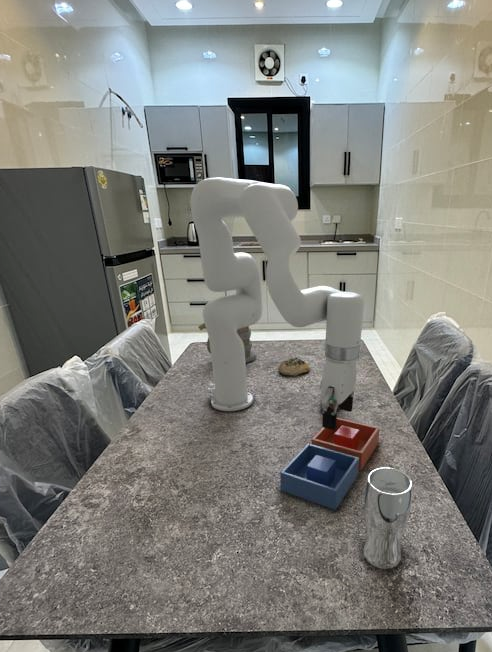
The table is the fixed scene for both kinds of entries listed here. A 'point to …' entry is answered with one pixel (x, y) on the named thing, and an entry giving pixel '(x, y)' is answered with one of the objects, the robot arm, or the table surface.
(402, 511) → the beer glass
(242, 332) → the tankard
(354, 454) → the red bin
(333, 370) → the robot arm
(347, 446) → the red block
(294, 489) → the blue bin
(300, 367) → the bread roll
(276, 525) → the table surface
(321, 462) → the blue block
